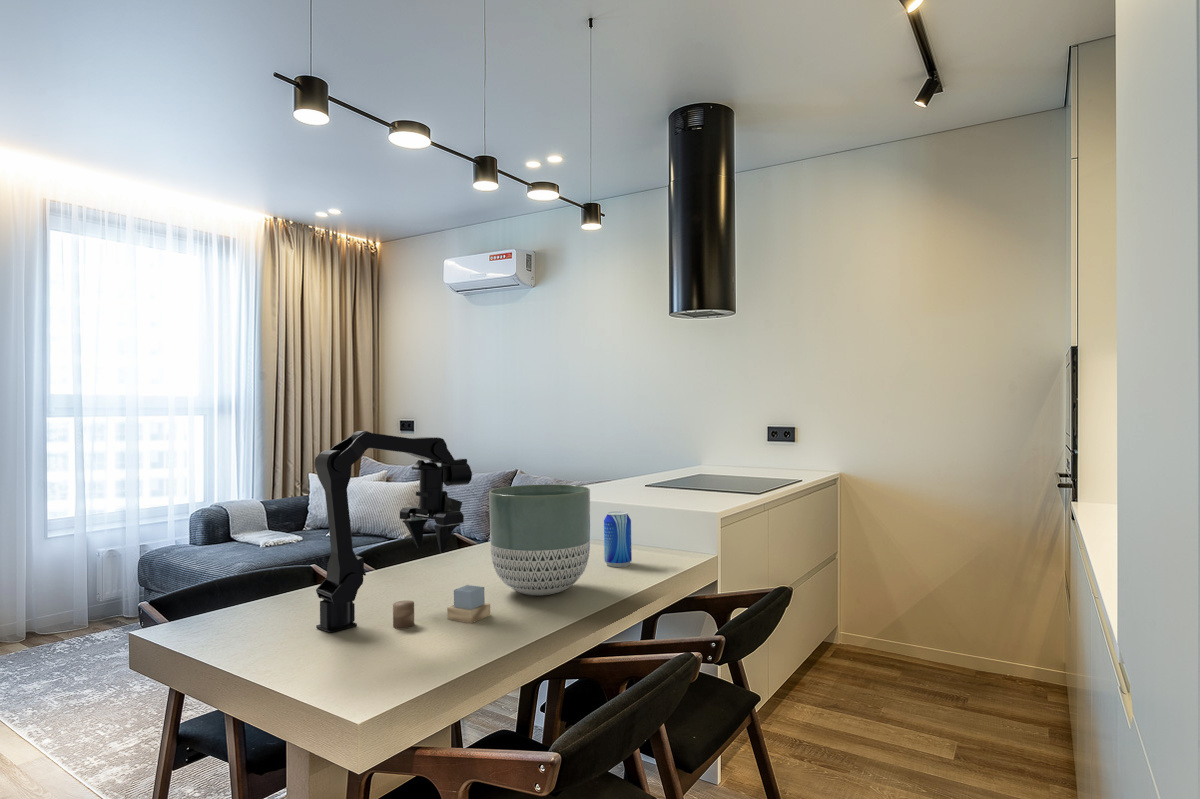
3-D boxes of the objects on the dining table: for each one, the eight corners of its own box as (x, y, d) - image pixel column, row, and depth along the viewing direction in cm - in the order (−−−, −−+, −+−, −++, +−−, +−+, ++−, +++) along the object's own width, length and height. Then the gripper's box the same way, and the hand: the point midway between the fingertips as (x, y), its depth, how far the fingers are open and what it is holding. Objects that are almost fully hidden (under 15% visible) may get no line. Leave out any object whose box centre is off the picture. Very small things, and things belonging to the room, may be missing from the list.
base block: (471, 624, 155) (470, 611, 155) (447, 620, 158) (447, 607, 158) (490, 616, 161) (490, 603, 161) (467, 612, 164) (467, 600, 164)
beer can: (601, 563, 214) (600, 511, 214) (626, 560, 216) (625, 510, 217) (609, 568, 206) (608, 515, 206) (635, 566, 208) (634, 514, 209)
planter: (607, 584, 187) (606, 486, 188) (561, 610, 163) (560, 497, 164) (524, 576, 198) (522, 483, 199) (469, 599, 174) (468, 493, 175)
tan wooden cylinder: (401, 630, 151) (400, 607, 151) (389, 626, 153) (388, 603, 154) (418, 624, 154) (418, 602, 154) (406, 621, 157) (406, 599, 157)
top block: (471, 609, 156) (471, 592, 156) (454, 607, 158) (453, 590, 158) (484, 604, 160) (484, 587, 160) (467, 601, 163) (467, 584, 163)
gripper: (480, 487, 171) (480, 549, 171) (434, 483, 183) (433, 541, 182) (445, 490, 163) (444, 556, 162) (398, 486, 174) (397, 547, 174)
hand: (430, 550), depth 170 cm, fingers open, 9 cm apart
